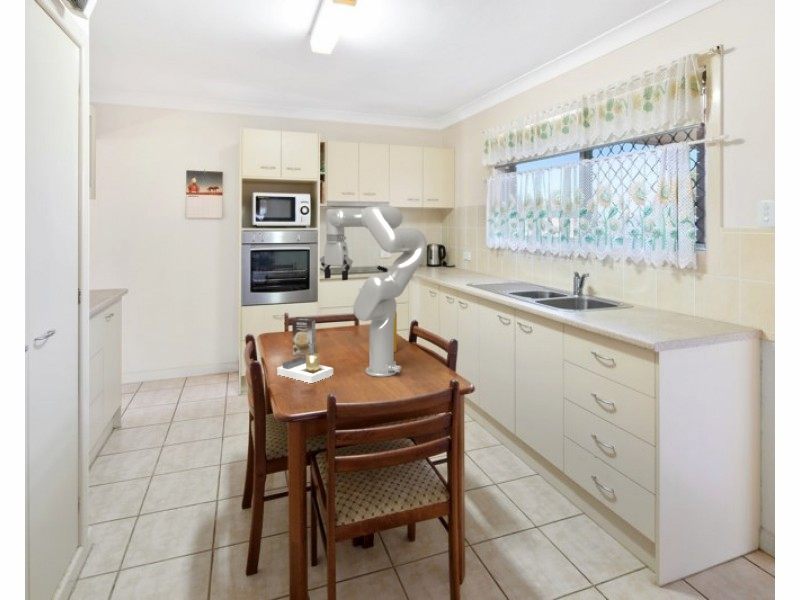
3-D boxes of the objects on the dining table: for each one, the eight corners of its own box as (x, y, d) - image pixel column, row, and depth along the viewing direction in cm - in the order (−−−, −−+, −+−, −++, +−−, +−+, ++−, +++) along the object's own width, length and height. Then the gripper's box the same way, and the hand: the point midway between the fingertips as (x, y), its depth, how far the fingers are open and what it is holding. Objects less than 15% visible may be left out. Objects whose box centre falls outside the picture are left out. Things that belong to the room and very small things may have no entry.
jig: (333, 375, 187) (333, 363, 186) (311, 384, 177) (311, 371, 176) (299, 367, 196) (299, 355, 195) (277, 375, 186) (276, 362, 186)
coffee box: (292, 355, 212) (291, 320, 210) (296, 351, 219) (295, 316, 216) (312, 356, 212) (311, 320, 209) (316, 352, 218) (315, 317, 215)
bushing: (322, 376, 185) (321, 354, 184) (313, 380, 181) (312, 357, 179) (312, 374, 188) (312, 352, 186) (303, 377, 184) (303, 355, 182)
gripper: (357, 239, 201) (357, 279, 204) (326, 237, 210) (326, 276, 213) (345, 239, 194) (346, 281, 197) (314, 238, 204) (315, 278, 207)
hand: (336, 279), depth 205 cm, fingers open, 9 cm apart
